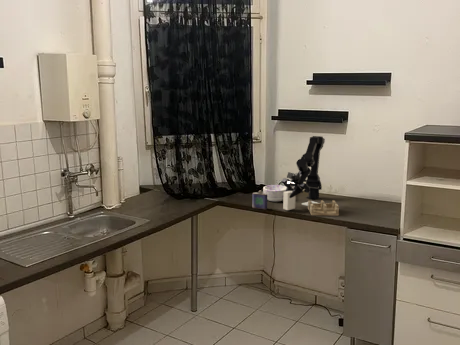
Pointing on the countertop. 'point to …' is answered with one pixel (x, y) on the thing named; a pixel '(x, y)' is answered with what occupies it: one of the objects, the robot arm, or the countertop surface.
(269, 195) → the paper bowls
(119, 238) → the countertop surface
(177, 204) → the countertop surface
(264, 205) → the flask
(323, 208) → the rack
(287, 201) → the white rectangular block
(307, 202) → the drying mat
